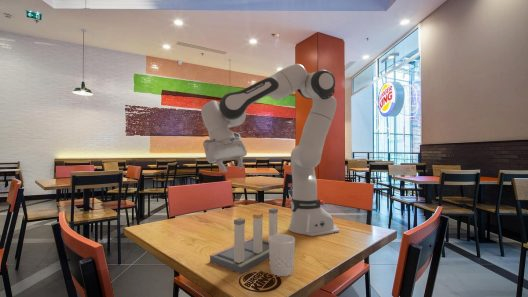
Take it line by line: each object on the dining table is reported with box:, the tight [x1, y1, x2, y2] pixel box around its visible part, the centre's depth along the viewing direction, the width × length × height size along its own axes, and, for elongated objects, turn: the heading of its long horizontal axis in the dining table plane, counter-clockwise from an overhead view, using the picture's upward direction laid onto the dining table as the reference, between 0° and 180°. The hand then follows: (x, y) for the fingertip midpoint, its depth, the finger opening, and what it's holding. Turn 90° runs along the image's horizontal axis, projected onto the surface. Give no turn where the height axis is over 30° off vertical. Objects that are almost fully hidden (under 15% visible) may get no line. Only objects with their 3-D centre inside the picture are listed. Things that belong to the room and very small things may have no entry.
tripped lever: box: [252, 212, 264, 254], centre depth 87 cm, size 2×3×13 cm
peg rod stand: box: [209, 207, 279, 275], centre depth 89 cm, size 14×22×15 cm, turn 143°
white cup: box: [268, 233, 296, 277], centre depth 78 cm, size 8×8×10 cm
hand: (233, 169), depth 105 cm, fingers open, 8 cm apart
